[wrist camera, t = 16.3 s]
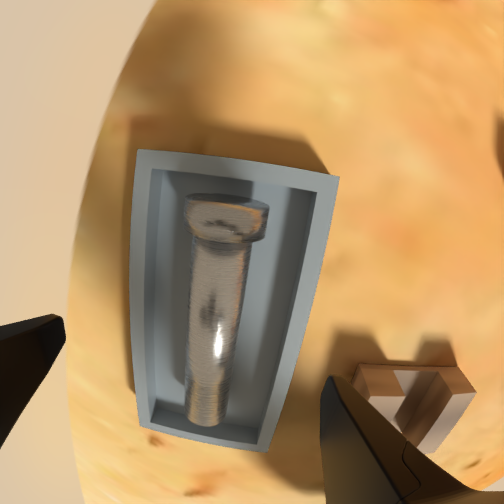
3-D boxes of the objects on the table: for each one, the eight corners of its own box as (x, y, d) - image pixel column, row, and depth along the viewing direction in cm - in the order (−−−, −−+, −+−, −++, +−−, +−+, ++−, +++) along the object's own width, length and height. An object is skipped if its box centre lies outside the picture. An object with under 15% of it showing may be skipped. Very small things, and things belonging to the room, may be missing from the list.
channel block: (422, 425, 18) (434, 452, 15) (329, 427, 18) (334, 460, 15) (458, 366, 16) (476, 392, 13) (358, 363, 16) (370, 396, 13)
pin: (237, 396, 18) (230, 437, 14) (184, 386, 18) (170, 424, 14) (270, 201, 14) (268, 216, 10) (197, 189, 14) (173, 201, 10)
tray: (268, 431, 18) (267, 452, 16) (149, 407, 19) (139, 425, 17) (330, 175, 14) (339, 176, 12) (154, 150, 14) (137, 148, 12)
